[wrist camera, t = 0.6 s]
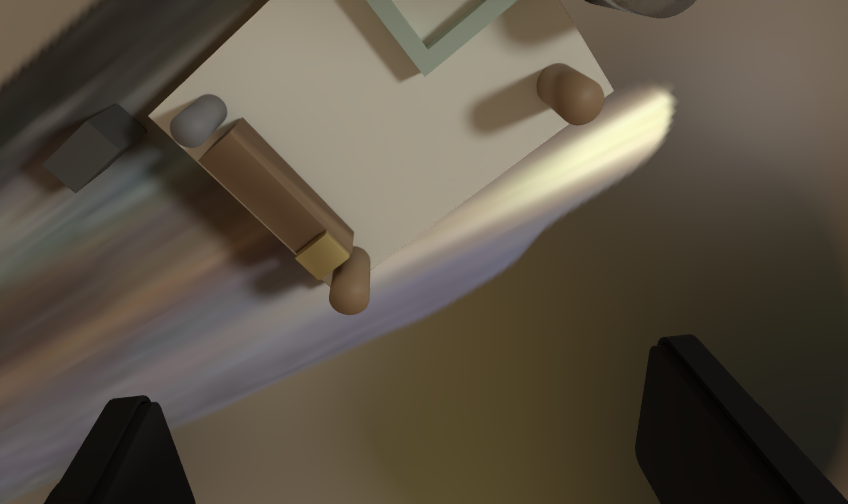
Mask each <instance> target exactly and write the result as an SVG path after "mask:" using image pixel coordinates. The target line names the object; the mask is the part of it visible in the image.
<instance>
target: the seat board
mask: <svg viewBox="0 0 848 504" xmlns="http://www.w3.org/2000/svg"><path fill="white" fill-rule="evenodd" d="M613 91H614V90H613V88H612V87H611V85H610V83H609V82H608V80H607V78H606V77H605V75H604V74H603V72H602V70H601V68H600V67H599V65H598V63H597V62H596V60H595V59H594V57H593V55H592V53H591V52H590V50H589V49H588V47H587V45H586V43H585V42H584V40H583V38H582V37H581V35H580V33H579V32H578V31H577V28H576V27H575V25H574V24H573V22H572V20H571V19H570V17H569V15H568V13H567V12H566V10H565V8H564V7H563V5H562V3H561V2H560V0H269V1H268V2H267V3H266V4H265V5H264V6H263V7H262V8H261V9H260V10H259V11H258V12H257V13H256V14H255V15H254V16H253V17H251V18H250V19H249V20H248V21H247V22H246V23H245V24H244V25H243V26H242V27H241V28H240V29H239V30H238V31H237V32H236V33H235V34H234V35H233V36H232V37H230V38H229V39H228V40H227V41H226V42H225V43H224V44H223V45H222V46H221V47H220V48H219V49H218V50H217V51H216V52H215V53H214V54H213V55H212V56H211V57H209V58H208V59H207V60H206V61H205V62H204V63H203V64H202V65H201V66H200V67H199V68H198V69H197V70H196V71H195V72H194V73H193V74H192V75H191V76H189V77H188V78H187V79H186V80H185V81H184V82H183V83H182V84H181V85H180V86H179V87H178V88H177V89H176V90H175V91H174V92H173V93H172V94H171V95H170V96H168V97H167V98H166V99H165V100H164V101H163V102H162V103H161V104H160V105H159V106H158V107H157V108H156V109H155V110H154V111H153V112H152V113H151V114H150V115H149V117H150V118H151V119H152V120H153V121H154V122H155V123H156V124H157V125H158V126H159V127H160V128H161V129H162V130H163V131H165V132H166V133H167V134H168V135H169V136H170V137H171V138H172V139H173V140H174V141H175V142H176V143H177V144H178V145H179V146H180V147H182V148H183V149H184V150H185V151H186V152H187V153H188V154H189V155H190V156H191V157H192V158H193V159H194V160H195V161H196V162H197V163H199V164H200V165H201V166H202V167H203V168H204V169H205V170H206V171H207V172H208V173H209V174H210V175H211V176H212V177H213V178H215V179H216V180H217V181H218V182H219V183H220V184H221V185H222V186H223V187H224V188H225V189H226V190H227V191H228V192H229V193H230V194H232V195H233V196H234V197H235V198H236V199H237V200H238V201H239V202H240V203H241V204H242V205H243V206H244V207H245V208H246V209H247V210H249V211H250V212H251V213H252V214H253V215H254V216H255V217H256V218H257V219H258V220H259V221H260V222H261V223H262V224H263V225H264V226H266V227H267V228H268V229H269V230H270V231H271V232H272V233H273V234H274V235H275V236H276V237H277V238H278V239H279V240H280V241H281V242H283V243H284V244H285V245H286V246H287V247H288V248H289V249H290V250H291V251H292V252H293V253H294V254H295V255H296V253H295V252H294V251H293V250H292V249H291V248H290V247H289V246H288V245H287V244H286V243H285V242H284V241H282V240H281V239H280V238H279V237H278V236H277V235H276V234H275V233H274V232H273V231H272V230H271V229H270V228H269V227H268V226H267V225H265V224H264V223H263V222H262V221H261V220H260V219H259V218H258V217H257V216H256V215H255V214H254V213H253V212H252V211H251V210H250V209H249V208H247V207H246V206H245V205H244V204H243V203H242V202H241V201H240V200H239V199H238V198H237V197H236V196H235V195H234V194H233V193H232V192H230V191H229V190H228V189H227V188H226V187H225V186H224V185H223V184H222V183H221V182H220V181H219V180H218V179H217V178H216V177H215V176H214V175H212V174H211V173H210V172H209V171H208V170H207V169H206V168H205V167H204V166H203V165H202V164H201V163H200V162H199V161H198V160H199V159H200V158H201V157H202V156H203V154H204V153H205V152H206V151H207V150H208V149H209V148H210V147H211V145H212V144H213V143H214V142H215V141H216V140H218V139H219V138H220V137H221V136H222V135H223V134H224V133H225V132H227V131H228V130H229V129H230V128H231V127H232V126H233V125H234V124H235V123H237V122H238V121H239V120H240V119H241V118H242V117H243V118H244V119H245V120H246V121H247V122H248V123H249V124H250V125H251V126H252V127H253V128H254V129H255V130H256V131H257V132H258V133H259V135H260V136H261V137H262V138H263V139H264V140H265V141H266V142H267V143H268V144H269V145H270V146H271V147H272V148H273V149H274V150H275V151H276V152H277V153H278V154H279V155H280V156H281V157H282V158H283V159H284V160H285V161H286V162H287V163H288V164H289V165H290V166H291V167H292V168H293V169H294V170H295V172H296V173H297V174H298V175H299V176H300V177H301V178H302V179H303V180H304V181H305V182H306V183H307V184H308V185H309V186H310V187H311V188H312V189H313V190H314V191H315V192H316V193H317V194H318V195H319V196H320V197H321V198H322V199H323V200H324V201H325V202H326V203H327V204H328V205H329V206H330V207H331V209H332V210H333V211H334V212H335V213H336V214H337V215H338V216H339V217H340V218H341V219H342V220H343V221H344V222H345V223H346V224H347V225H348V226H349V227H350V228H351V229H352V230H353V231H354V239H353V249H352V256H351V257H349V259H347V260H346V261H345V262H343V263H342V264H341V265H339V266H338V267H337V268H335V269H334V270H333V271H331V272H330V273H329V274H327V275H326V276H325V277H323V278H322V280H323V281H324V282H325V283H326V284H327V285H328V286H329V287H330V294H329V301H330V304H331V306H332V307H333V308H334V309H335V310H336V311H337V312H339V313H342V314H345V315H354V314H358V313H360V312H362V311H363V310H364V309H365V308H366V307H367V305H368V303H369V295H370V271H371V270H372V269H373V268H375V267H376V266H377V265H379V264H380V263H382V262H383V261H384V260H386V259H387V258H388V257H390V256H391V255H392V254H394V253H395V252H396V251H398V250H399V249H400V248H402V247H403V246H404V245H406V244H407V243H409V242H410V241H411V240H413V239H414V238H415V237H417V236H418V235H419V234H421V233H422V232H423V231H425V230H426V229H427V228H429V227H430V226H432V225H433V224H434V223H436V222H437V221H438V220H440V219H441V218H442V217H444V216H445V215H446V214H448V213H449V212H450V211H452V210H453V209H455V208H456V207H457V206H459V205H460V204H461V203H463V202H464V201H465V200H467V199H468V198H469V197H471V196H472V195H473V194H475V193H476V192H478V191H479V190H480V189H482V188H483V187H484V186H486V185H487V184H488V183H490V182H491V181H492V180H494V179H495V178H496V177H498V176H499V175H501V174H502V173H503V172H505V171H506V170H507V169H509V168H510V167H511V166H513V165H514V164H515V163H517V162H518V161H519V160H521V159H522V158H524V157H525V156H526V155H528V154H529V153H530V152H532V151H533V150H534V149H536V148H537V147H538V146H540V145H541V144H542V143H544V142H545V141H547V140H548V139H549V138H551V137H552V136H553V135H555V134H556V133H557V132H559V131H560V130H561V129H563V128H564V127H565V126H567V125H568V124H572V125H583V124H587V123H589V122H591V121H592V120H593V119H595V118H596V117H597V116H598V114H599V113H600V111H601V110H602V107H603V104H604V98H605V97H606V96H607V95H609V94H610V93H611V92H613ZM145 132H146V130H145V129H144V128H143V127H142V126H141V125H140V124H139V123H138V122H137V121H136V120H135V119H134V118H132V117H131V116H130V115H129V114H128V113H127V112H126V111H125V110H124V109H123V108H122V107H121V106H119V105H118V104H115V105H113V106H111V107H110V108H108V109H106V110H104V111H103V112H101V113H99V114H97V115H95V116H94V117H92V118H90V119H88V120H87V121H85V122H84V123H83V124H82V125H81V126H80V127H79V128H78V129H77V130H76V131H75V132H74V133H73V134H72V135H71V136H70V137H69V138H68V139H67V140H66V141H65V142H64V143H63V144H62V145H61V146H60V147H59V148H58V149H57V150H56V151H55V152H54V153H53V154H52V155H51V156H50V157H49V158H48V159H47V160H46V161H45V162H44V163H43V164H42V165H41V166H43V167H44V168H45V169H46V170H48V171H49V172H50V173H51V174H52V175H54V176H55V177H56V178H57V179H59V180H60V181H61V182H62V183H63V184H65V185H66V186H67V187H68V188H70V189H71V190H72V191H73V192H75V193H77V192H78V191H79V190H80V189H82V188H83V187H84V186H85V185H87V184H88V183H89V182H91V181H92V180H93V179H94V178H96V177H97V176H98V175H100V174H101V173H102V172H103V171H105V170H106V169H107V168H108V167H109V166H110V165H111V164H112V163H113V162H114V161H115V160H117V159H118V158H119V157H120V156H121V155H122V154H123V153H124V152H125V151H126V150H127V149H128V148H129V147H130V146H131V145H132V144H133V143H135V142H136V141H137V140H138V139H139V138H140V137H141V136H142V135H143V134H144V133H145Z"/></svg>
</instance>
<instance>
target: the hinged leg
mask: <svg viewBox="0 0 848 504" xmlns="http://www.w3.org/2000/svg"><path fill="white" fill-rule="evenodd" d="M198 161H199V162H200V163H201V164H202V165H203V166H204V167H205V168H206V169H207V170H208V171H209V172H210V173H211V174H212V175H214V176H215V177H216V178H217V179H218V180H219V181H220V182H221V183H222V184H223V185H224V186H225V187H226V188H227V189H228V190H229V191H230V192H232V193H233V194H234V195H235V196H236V197H237V198H238V199H239V200H240V201H241V202H242V203H243V204H244V205H245V206H246V207H247V208H249V209H250V210H251V211H252V212H253V213H254V214H255V215H256V216H257V217H258V218H259V219H260V220H261V221H262V222H263V223H264V224H265V225H267V226H268V227H269V228H270V229H271V230H272V231H273V232H274V233H275V234H276V235H277V236H278V237H279V238H280V239H281V240H282V241H284V242H285V243H286V244H287V245H288V246H289V247H290V248H291V249H292V250H293V251H294V252H295V253H296V257H295V259H296V260H297V261H298V262H299V263H300V264H301V265H302V266H303V267H305V268H306V269H307V270H308V271H309V272H310V273H311V274H312V275H313V276H314V277H315V278H316V279H317V280H318V281H319V280H321V279H322V278H323V277H325V276H326V275H327V274H329V273H330V272H331V271H333V270H334V269H335V268H337V267H338V266H339V265H341V264H342V263H343V262H345V261H346V260H347V259H349V257H351V256H352V249H353V239H354V231H353V230H352V229H351V228H350V227H349V226H348V225H347V224H346V223H345V222H344V221H343V220H342V219H341V218H340V217H339V216H338V215H337V214H336V213H335V212H334V211H333V210H332V209H331V207H330V206H329V205H328V204H327V203H326V202H325V201H324V200H323V199H322V198H321V197H320V196H319V195H318V194H317V193H316V192H315V191H314V190H313V189H312V188H311V187H310V186H309V185H308V184H307V183H306V182H305V181H304V180H303V179H302V178H301V177H300V176H299V175H298V174H297V173H296V172H295V170H294V169H293V168H292V167H291V166H290V165H289V164H288V163H287V162H286V161H285V160H284V159H283V158H282V157H281V156H280V155H279V154H278V153H277V152H276V151H275V150H274V149H273V148H272V147H271V146H270V145H269V144H268V143H267V142H266V141H265V140H264V139H263V138H262V137H261V136H260V135H259V133H258V132H257V131H256V130H255V129H254V128H253V127H252V126H251V125H250V124H249V123H248V122H247V121H246V120H245V119H244V118H243V117H242V118H241V119H240V120H239V121H238V122H237V123H235V124H234V125H233V126H232V127H231V128H230V129H229V130H228V131H227V132H225V133H224V134H223V135H222V136H221V137H220V138H219V139H218V140H216V141H215V142H214V143H213V144H212V145H211V147H210V148H209V149H208V150H207V151H206V152H205V153H204V154H203V156H202V157H201V158H200V159H199V160H198Z"/></svg>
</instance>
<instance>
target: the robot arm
mask: <svg viewBox="0 0 848 504" xmlns="http://www.w3.org/2000/svg"><path fill="white" fill-rule="evenodd" d="M635 451H636V457H637V460H638V463H639V465H640V467H641V469H642V471H643V473H644V475H645V476H646V478H647V480H648V482H649V483H650V485H651V487H652V489H653V490H654V492H655V494H656V496H657V498H658V499H659V501H660V503H661V504H848V501H847V500H846V499H845V498H844V497H843V495H842V494H841V493H840V492H839V491H838V490H837V489H836V488H835V487H834V486H833V485H832V483H831V482H830V481H829V480H828V479H827V478H826V477H825V476H824V475H823V474H822V473H821V471H820V470H819V469H818V468H817V467H816V466H815V465H814V464H813V463H812V462H811V461H810V460H809V458H808V457H807V456H806V455H805V454H804V453H803V452H802V451H801V450H800V449H799V448H798V446H797V445H796V444H795V443H794V442H793V441H792V440H791V439H790V438H789V437H788V436H787V434H786V433H785V432H784V431H783V430H782V429H781V428H780V427H779V426H778V425H777V424H776V423H775V421H774V420H773V419H772V418H771V417H770V416H769V415H768V414H767V413H766V412H765V411H764V409H763V408H762V407H761V406H759V405H758V404H757V403H756V402H755V401H754V400H753V398H752V397H751V396H750V395H749V394H748V393H747V392H746V391H745V390H744V389H743V388H742V386H741V385H740V384H739V383H738V382H737V381H736V380H735V379H734V378H733V377H732V376H731V375H730V373H729V372H728V371H727V370H726V369H725V368H724V367H723V366H722V365H721V364H720V362H718V360H717V359H716V358H715V357H714V356H713V355H712V354H711V353H710V352H709V351H708V349H706V347H705V346H704V345H703V344H702V343H701V342H700V341H699V340H698V339H697V338H696V337H695V336H694V335H691V334H688V335H679V336H670V337H663V338H660V340H659V341H658V344H657V346H652V347H651V349H650V352H649V358H648V365H647V372H646V378H645V385H644V391H643V398H642V405H641V411H640V418H639V425H638V431H637V438H636V445H635ZM44 504H196V503H195V499H194V496H193V494H192V491H191V488H190V486H189V483H188V480H187V477H186V475H185V472H184V469H183V466H182V464H181V461H180V458H179V455H178V453H177V450H176V447H175V444H174V442H173V439H172V436H171V433H170V431H169V428H168V425H167V423H166V420H165V417H164V414H163V412H162V409H161V407H160V405H159V404H158V403H157V402H151V401H150V399H149V398H148V397H147V396H144V395H142V396H133V397H124V398H115V399H112V400H110V401H109V402H108V403H107V404H106V406H105V407H104V409H103V411H102V412H101V414H100V416H99V417H98V419H97V421H96V422H95V424H94V426H93V427H92V429H91V431H90V432H89V434H88V436H87V437H86V439H85V441H84V442H83V444H82V446H81V447H80V449H79V451H78V452H77V454H76V456H75V457H74V459H73V461H72V462H71V464H70V466H69V467H68V469H67V471H66V472H65V474H64V475H63V477H62V479H61V480H60V482H59V483H58V484H57V485H56V486H55V488H54V489H53V490H52V492H51V493H50V494H49V496H48V498H47V499H46V501H45V503H44Z"/></svg>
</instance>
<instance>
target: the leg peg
mask: <svg viewBox="0 0 848 504" xmlns="http://www.w3.org/2000/svg"><path fill="white" fill-rule="evenodd" d="M585 1H587V2H589V3H591V4H595V5H600V6H604V7H608V8H613V9H617V10H622V11H626V12H630V13H636V14H640V15H644V16H649V17H653V18H668V17H671V16H675V15H677V14H679V13H681V12H683V11H684V10H686V9H687V8H689V7H690V6H691V5H692V4H693V3H694V2H695V1H696V0H585Z"/></svg>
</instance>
